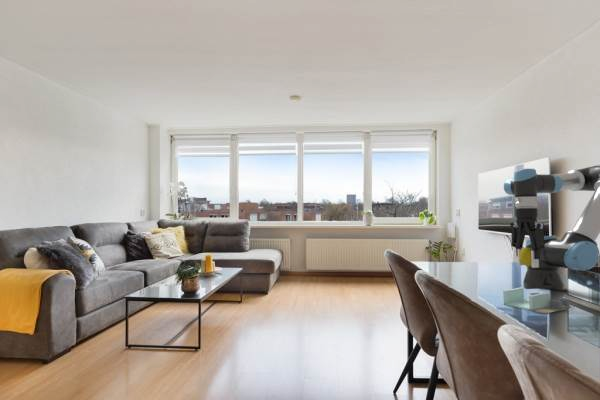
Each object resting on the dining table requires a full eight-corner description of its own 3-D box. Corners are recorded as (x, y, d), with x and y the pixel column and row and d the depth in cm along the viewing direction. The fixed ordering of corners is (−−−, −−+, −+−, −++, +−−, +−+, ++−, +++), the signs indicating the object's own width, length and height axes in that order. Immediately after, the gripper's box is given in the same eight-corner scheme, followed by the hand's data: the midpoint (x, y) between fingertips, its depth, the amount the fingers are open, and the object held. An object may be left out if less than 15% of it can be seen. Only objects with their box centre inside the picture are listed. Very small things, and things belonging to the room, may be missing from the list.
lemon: (537, 268, 137) (537, 247, 137) (521, 267, 139) (520, 247, 139) (534, 266, 142) (533, 246, 142) (518, 265, 144) (517, 246, 144)
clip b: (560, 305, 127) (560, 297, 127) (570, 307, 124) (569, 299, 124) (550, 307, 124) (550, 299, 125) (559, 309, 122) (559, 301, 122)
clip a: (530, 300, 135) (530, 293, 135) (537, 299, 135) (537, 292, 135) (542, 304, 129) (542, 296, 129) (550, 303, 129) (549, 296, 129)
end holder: (521, 300, 135) (520, 287, 135) (550, 306, 125) (549, 292, 125) (503, 304, 131) (503, 290, 131) (532, 311, 121) (531, 296, 121)
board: (535, 301, 137) (535, 298, 137) (574, 310, 125) (574, 306, 125) (506, 307, 130) (505, 304, 130) (544, 317, 118) (544, 313, 118)
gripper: (499, 208, 149) (501, 263, 148) (539, 207, 131) (542, 270, 131) (514, 208, 151) (516, 262, 150) (555, 207, 133) (558, 269, 132)
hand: (528, 266), depth 140 cm, fingers closed on lemon, 5 cm apart
